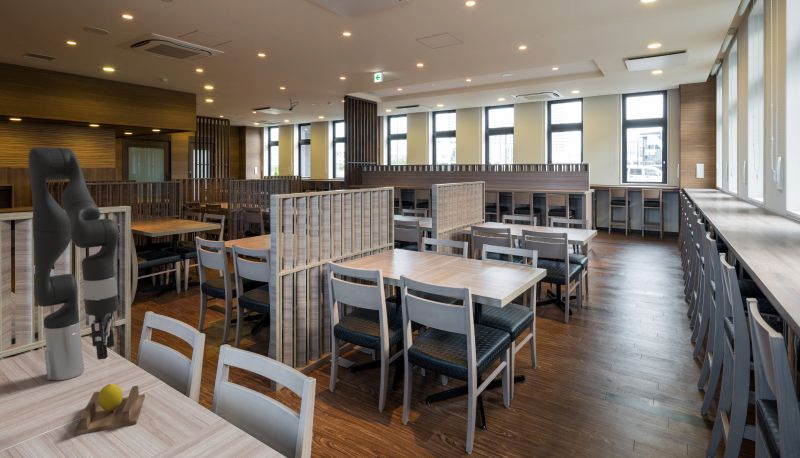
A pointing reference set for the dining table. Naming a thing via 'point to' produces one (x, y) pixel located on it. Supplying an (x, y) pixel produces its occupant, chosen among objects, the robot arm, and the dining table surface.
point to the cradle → (110, 413)
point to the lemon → (110, 397)
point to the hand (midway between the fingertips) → (106, 352)
